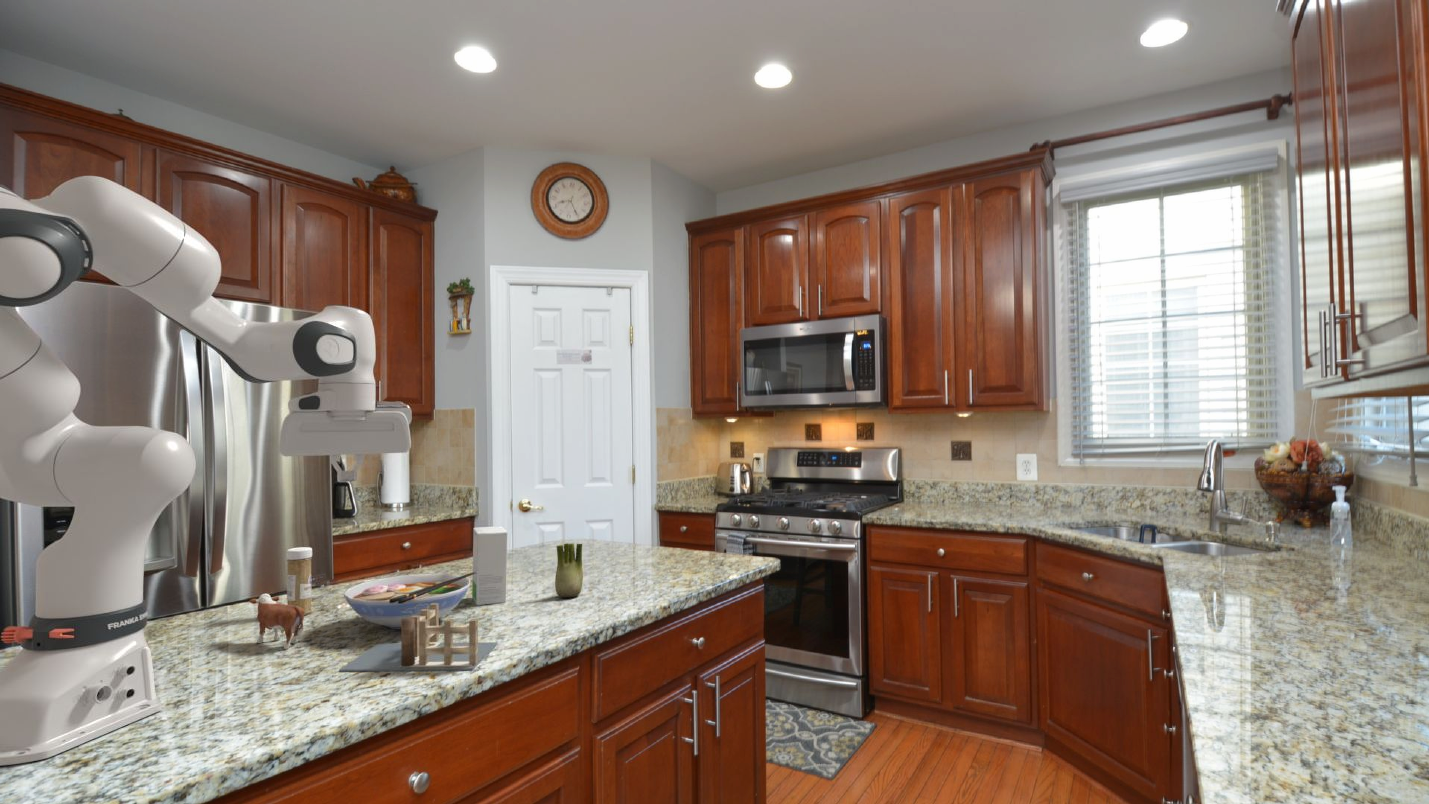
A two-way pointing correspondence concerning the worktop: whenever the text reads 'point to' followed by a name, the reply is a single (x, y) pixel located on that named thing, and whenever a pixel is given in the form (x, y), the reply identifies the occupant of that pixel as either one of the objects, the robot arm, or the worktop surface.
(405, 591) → the ramen bowl
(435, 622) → the gate panel
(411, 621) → the corner post
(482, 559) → the skincare box
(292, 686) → the worktop surface
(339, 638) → the worktop surface
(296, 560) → the spice jar
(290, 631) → the bull figurine
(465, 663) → the card
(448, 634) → the fixed fence panel
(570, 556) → the fennel bulb
